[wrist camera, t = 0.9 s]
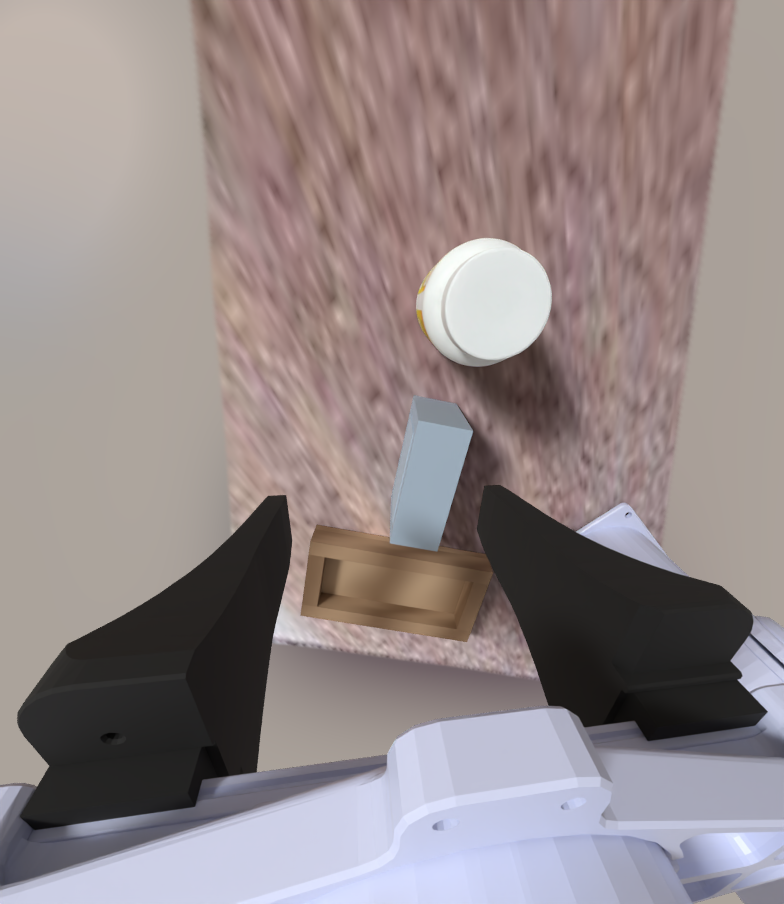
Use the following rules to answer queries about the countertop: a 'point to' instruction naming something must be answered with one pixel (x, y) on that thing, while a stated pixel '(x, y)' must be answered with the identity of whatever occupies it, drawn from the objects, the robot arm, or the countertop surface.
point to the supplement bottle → (484, 302)
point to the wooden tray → (393, 584)
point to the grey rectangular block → (428, 472)
